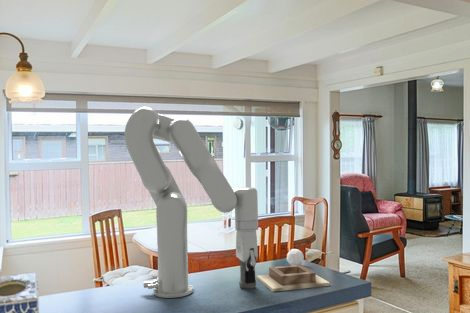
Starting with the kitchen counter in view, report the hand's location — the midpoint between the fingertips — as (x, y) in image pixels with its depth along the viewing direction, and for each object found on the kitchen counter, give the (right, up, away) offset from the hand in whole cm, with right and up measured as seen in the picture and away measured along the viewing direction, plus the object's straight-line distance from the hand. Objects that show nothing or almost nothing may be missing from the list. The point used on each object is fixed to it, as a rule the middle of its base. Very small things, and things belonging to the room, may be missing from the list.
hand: (247, 280), depth 141 cm
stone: (0, -3, 0) cm, 3 cm away
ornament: (+19, -2, +27) cm, 34 cm away
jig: (+15, -2, +5) cm, 16 cm away
